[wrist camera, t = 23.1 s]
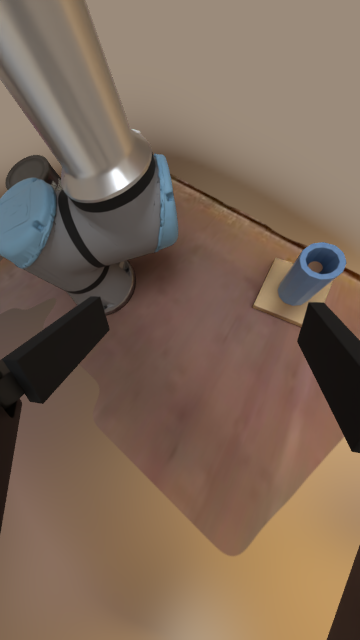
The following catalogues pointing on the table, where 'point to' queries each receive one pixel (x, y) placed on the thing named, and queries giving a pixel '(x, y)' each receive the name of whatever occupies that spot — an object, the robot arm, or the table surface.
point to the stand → (273, 303)
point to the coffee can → (34, 172)
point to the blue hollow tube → (311, 273)
